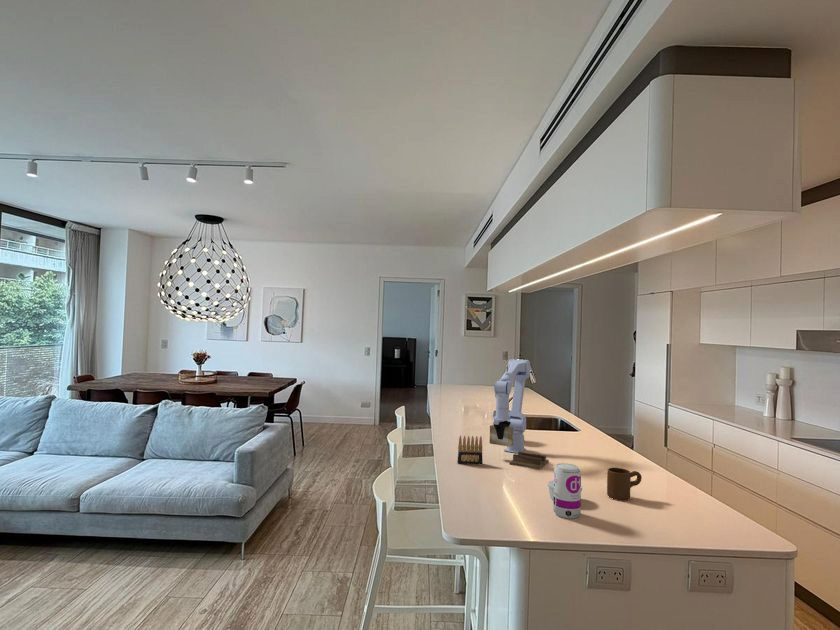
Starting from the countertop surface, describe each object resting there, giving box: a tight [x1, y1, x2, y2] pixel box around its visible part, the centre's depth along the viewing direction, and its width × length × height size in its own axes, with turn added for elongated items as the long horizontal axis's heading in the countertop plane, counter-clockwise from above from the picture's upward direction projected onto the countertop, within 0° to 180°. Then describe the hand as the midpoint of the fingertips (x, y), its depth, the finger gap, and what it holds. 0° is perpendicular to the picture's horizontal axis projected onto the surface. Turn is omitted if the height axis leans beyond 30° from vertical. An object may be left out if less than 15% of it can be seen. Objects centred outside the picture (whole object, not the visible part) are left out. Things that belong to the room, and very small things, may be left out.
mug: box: [606, 467, 643, 501], centre depth 170 cm, size 12×8×9 cm, turn 94°
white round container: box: [547, 479, 583, 502], centre depth 166 cm, size 11×11×5 cm
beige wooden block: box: [489, 424, 513, 447], centre depth 217 cm, size 3×10×8 cm, turn 58°
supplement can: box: [552, 462, 582, 520], centre depth 153 cm, size 8×8×15 cm
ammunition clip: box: [457, 435, 484, 465], centre depth 209 cm, size 11×2×12 cm, turn 90°
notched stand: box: [509, 451, 550, 470], centre depth 211 cm, size 14×13×4 cm
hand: (501, 438), depth 217 cm, fingers closed on beige wooden block, 3 cm apart
